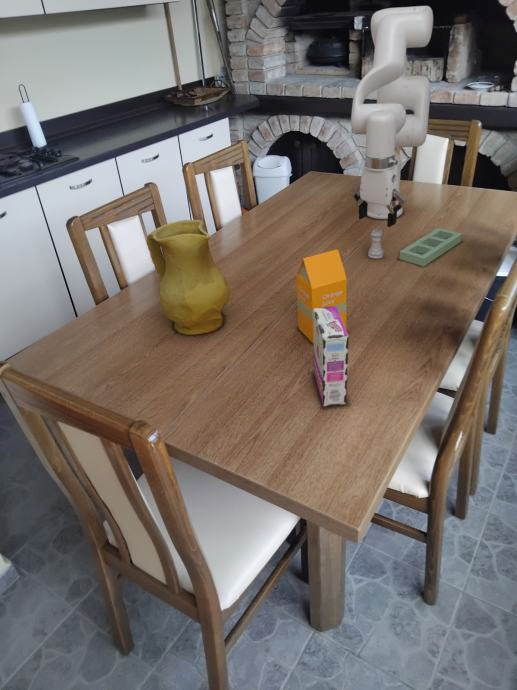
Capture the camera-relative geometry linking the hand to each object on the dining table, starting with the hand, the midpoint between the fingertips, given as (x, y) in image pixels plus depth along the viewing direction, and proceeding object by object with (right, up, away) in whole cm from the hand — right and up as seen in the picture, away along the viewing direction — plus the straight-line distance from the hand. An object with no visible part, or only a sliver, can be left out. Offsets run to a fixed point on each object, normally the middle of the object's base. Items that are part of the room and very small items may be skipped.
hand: (376, 221), depth 154 cm
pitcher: (-49, -29, -17) cm, 59 cm away
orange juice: (-19, -32, -25) cm, 45 cm away
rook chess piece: (+1, -9, +5) cm, 11 cm away
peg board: (+17, -7, +5) cm, 19 cm away
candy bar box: (-19, -44, -43) cm, 65 cm away
